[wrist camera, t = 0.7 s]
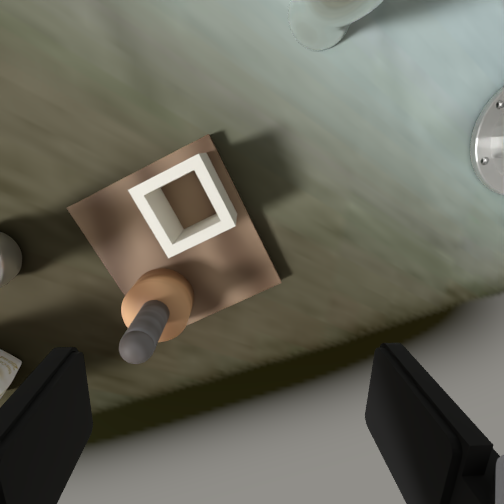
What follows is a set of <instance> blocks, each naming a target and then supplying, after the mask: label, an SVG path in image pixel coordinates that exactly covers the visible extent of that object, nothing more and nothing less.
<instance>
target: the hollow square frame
mask: <svg viewBox="0 0 504 504" xmlns="http://www.w3.org/2000/svg"><path fill="white" fill-rule="evenodd" d="M192 171H195V173H196V175H197V176H198V178H199V180H200V182H201V184H202V186H203V188H204V190H205V192H206V194H207V196H208V197H209V199H210V201H211V203H212V205H213V207H214V209H215V211H216V214H214V215H212V216H210V217H208V218H206V219H204V220H202V221H200V222H198V223H196V224H194V225H192V226H190V227H188V228H186V229H183V227H182V225H181V223H180V222H179V220H178V218H177V216H176V214H175V213H174V211H173V209H172V207H171V206H170V204H169V202H168V200H167V198H166V197H165V195H164V193H163V191H162V190H161V187H163V186H165V185H167V184H169V183H171V182H172V181H174V180H176V179H178V178H180V177H182V176H184V175H186V174H188V173H190V172H192ZM128 191H129V193H130V195H131V196H132V198H133V200H134V201H135V203H136V205H137V206H138V208H139V210H140V212H141V213H142V215H143V217H144V218H145V220H146V222H147V223H148V225H149V227H150V228H151V230H152V232H153V233H154V235H155V237H156V238H157V240H158V242H159V243H160V245H161V247H162V249H163V250H164V252H165V254H166V255H167V257H168V258H170V257H173V256H175V255H177V254H179V253H181V252H183V251H185V250H187V249H189V248H191V247H193V246H195V245H198V244H200V243H202V242H204V241H206V240H208V239H210V238H212V237H214V236H216V235H218V234H220V233H222V232H225V231H227V230H229V229H231V228H233V227H235V226H236V219H237V212H236V210H235V208H234V206H233V204H232V202H231V200H230V199H229V197H228V195H227V193H226V191H225V189H224V187H223V185H222V183H221V181H220V179H219V177H218V175H217V173H216V171H215V169H214V167H213V165H212V163H211V161H210V159H209V157H208V155H207V153H199V154H197V155H195V156H193V157H191V158H189V159H187V160H185V161H183V162H181V163H179V164H177V165H175V166H173V167H172V168H170V169H168V170H166V171H164V172H162V173H160V174H158V175H156V176H154V177H152V178H150V179H148V180H146V181H144V182H142V183H140V184H139V185H137V186H135V187H133V188H131V189H129V190H128Z"/></svg>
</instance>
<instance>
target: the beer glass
mask: <svg viewBox="0 0 504 504" xmlns="http://www.w3.org/2000/svg"><path fill="white" fill-rule="evenodd" d="M383 1H384V0H290V3H289V8H288V22H289V27H290V30H291V32H292V34H293V36H294V38H295V39H296V40H297V41H298V43H300V44H301V45H302V46H304V47H305V48H307V49H310V50H315V51H320V50H325V49H329V48H331V47H333V46H334V45H336V44H337V43H338V42H339V41H340V40H341V39H342V38H343V37H344V35H345V34H346V32H347V30H348V28H349V26H350V24H351V23H353V22H355V21H357V20H359V19H361V18H362V17H364V16H365V15H367V14H368V13H370V12H371V11H373V10H374V9H375V8H377V7H378V6H379V5H380V4H381V3H382V2H383Z"/></svg>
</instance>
